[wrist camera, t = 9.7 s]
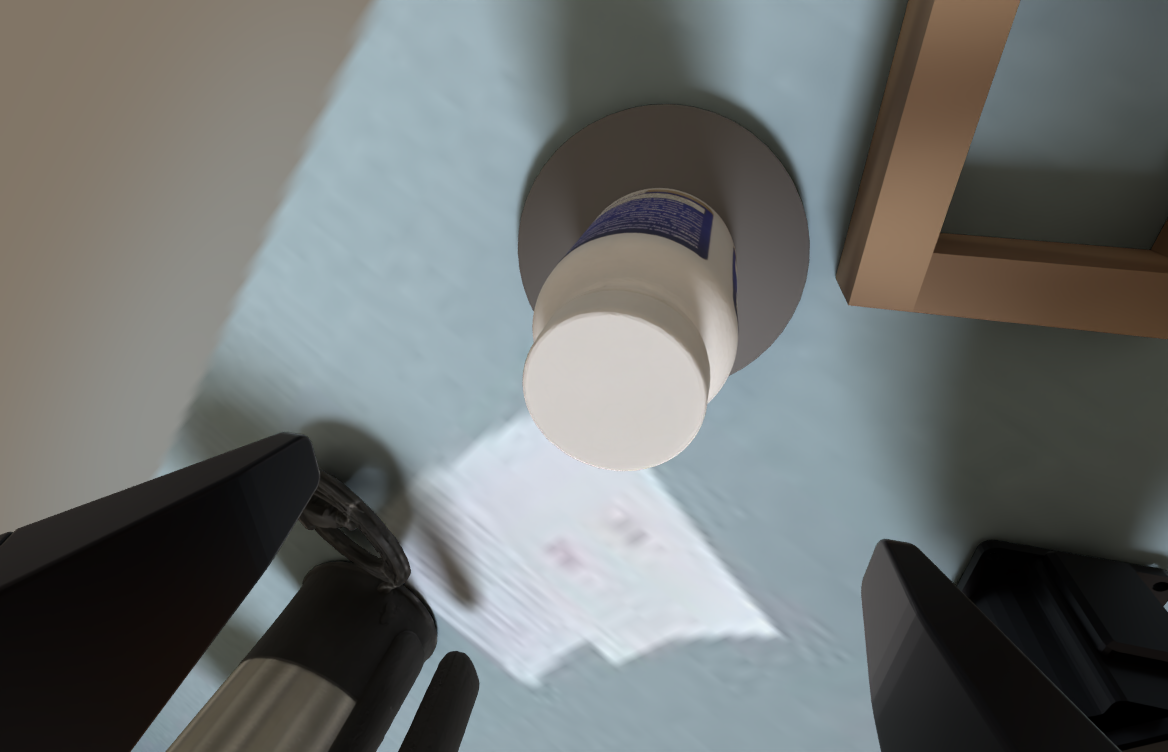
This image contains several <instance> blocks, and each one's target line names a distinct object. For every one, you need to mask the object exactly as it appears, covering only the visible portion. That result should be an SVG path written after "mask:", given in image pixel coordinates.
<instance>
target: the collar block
mask: <svg viewBox="0 0 1168 752" xmlns="http://www.w3.org/2000/svg"><path fill="white" fill-rule="evenodd" d="M1019 3H1020V0H908V4H907V8H906V12H905V16H904V19H903V23H902V27H901V31H900V35H899V38H898V42H897V46H896V50H895V54H894V57H893V61H892V65H891V69H890V73H889V76H888V80H887V84H886V88H885V92H884V95H883V99H882V103H881V107H880V111H879V114H878V118H877V122H876V126H875V130H874V133H873V137H872V141H871V145H870V149H869V152H868V156H867V160H866V164H865V168H864V171H863V175H862V179H861V183H860V187H859V190H858V194H857V198H856V202H855V206H854V209H853V213H852V217H851V221H850V225H849V228H848V232H847V236H846V240H845V243H844V247H843V251H842V255H841V259H840V262H839V266H838V270H837V274H836V280H837V282H838V284H839V286H840V289H841V291H842V293H843V295H844V297H845V299H846V301H847V303H848V305H851V306H861V307H870V308H880V309H889V310H898V311H908V312H917V313H926V314H936V315H945V316H954V317H964V318H973V319H983V320H992V321H1001V322H1011V323H1020V324H1029V325H1039V326H1048V327H1058V328H1067V329H1076V330H1086V331H1095V332H1104V333H1114V334H1123V335H1133V336H1142V337H1151V338H1161V339H1168V219H1167V221H1166V223H1165V224H1164V226H1163V228H1162V230H1161V232H1160V234H1159V235H1158V237H1157V239H1156V241H1155V243H1154V245H1153V246H1152V248H1151V250H1146V249H1133V248H1121V247H1109V246H1096V245H1084V244H1071V243H1059V242H1047V241H1034V240H1022V239H1010V238H997V237H985V236H973V235H960V234H948V233H940V231H941V228H942V225H943V222H944V219H945V217H946V214H947V211H948V208H949V205H950V202H951V199H952V196H953V193H954V191H955V188H956V185H957V182H958V179H959V176H960V173H961V170H962V168H963V165H964V162H965V159H966V156H967V153H968V150H969V147H970V144H971V142H972V139H973V136H974V133H975V130H976V127H977V124H978V121H979V118H980V116H981V113H982V110H983V107H984V104H985V101H986V98H987V95H988V92H989V90H990V87H991V84H992V81H993V78H994V75H995V72H996V69H997V66H998V64H999V61H1000V58H1001V55H1002V52H1003V49H1004V46H1005V43H1006V41H1007V38H1008V35H1009V32H1010V29H1011V26H1012V23H1013V20H1014V17H1015V15H1016V12H1017V9H1018V6H1019Z"/></svg>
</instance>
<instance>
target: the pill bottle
mask: <svg viewBox="0 0 1168 752" xmlns="http://www.w3.org/2000/svg"><path fill="white" fill-rule="evenodd" d="M738 333H739V327H738V306H737V259H736V252H735V247H734V243H733V240H732V237H731V235H730V233H729V231H728V228H727V226H726V225H725V223H724V222H723V220H722V219H721V218H720V216H719V215H718V214H717V213H716V212H715V211H714V210H713V209H712V208H711V207H710V206H709V205H707V204H706V203H705V202H703V201H702V200H700V199H699V198H697V197H695V196H693V195H691V194H688V193H685V192H682V191H679V190H674V189H668V188H650V189H644V190H640V191H636V192H633V193H630V194H628V195H626V196H624V197H622V198H620V199H618V200H616V201H615V202H613V203H612V204H611V205H610V206H608V207H607V208H606V209H605V210H604V211H603V212H602V213H601V214H600V215H599V216H598V217H597V218H596V219H595V221H594V222H593V223H592V224H591V225H590V227H589V228H588V229H587V230H586V231H585V233H584V234H583V235H582V236H581V237H580V238H579V240H578V241H577V242H576V243H575V244H574V245H573V247H572V248H571V249H570V250H569V251H568V252H567V254H566V255H565V256H564V257H563V258H562V259H561V260H560V261H559V263H558V264H557V265H556V267H555V268H554V269H553V271H552V272H551V274H550V275H549V276H548V278H547V280H546V281H545V283H544V285H543V287H542V289H541V291H540V293H539V296H538V299H537V302H536V305H535V309H534V315H533V339H534V344H533V345H532V347H531V349H530V351H529V353H528V356H527V359H526V362H525V366H524V371H523V392H524V397H525V402H526V405H527V408H528V410H529V412H530V415H531V417H532V419H533V420H534V422H535V424H536V425H537V427H538V428H539V429H540V431H541V432H542V433H543V434H544V435H545V437H546V438H547V439H548V440H549V441H550V442H551V443H553V444H554V445H555V446H556V447H557V448H558V449H560V450H561V451H563V452H564V453H566V454H567V455H569V456H570V457H572V458H574V459H576V460H578V461H580V462H583V463H585V464H588V465H591V466H594V467H598V468H601V469H607V470H615V471H635V470H641V469H646V468H650V467H654V466H657V465H659V464H662V463H664V462H666V461H668V460H670V459H672V458H673V457H674V456H676V455H678V454H679V453H680V452H681V451H683V450H684V449H685V448H686V447H687V446H688V445H689V444H690V443H691V441H692V440H693V439H694V437H695V436H696V435H697V433H698V431H699V429H700V427H701V425H702V423H703V420H704V417H705V414H706V409H707V404H708V403H709V402H710V401H711V400H712V399H713V398H714V397H715V396H716V394H717V393H718V392H719V391H720V389H721V388H722V386H723V385H724V383H725V381H726V380H727V378H728V376H729V374H730V372H731V369H732V367H733V364H734V361H735V357H736V352H737V344H738Z"/></svg>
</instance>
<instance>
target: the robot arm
mask: <svg viewBox="0 0 1168 752" xmlns="http://www.w3.org/2000/svg"><path fill="white" fill-rule="evenodd" d="M319 480H320V471H319V467H318V464H317V460H316V456H315V453H314V449H313V445H312V442H311V440H310V439H309V438H308V437H307V436H305V435H301V434H296V433H290V432H282V433H279V434H276V435H273V436H270V437H268V438H265V439H262V440H260V441H257V442H254V443H251V444H249V445H246V446H243V447H240V448H238V449H235V450H232V451H229V452H227V453H224V454H221V455H218V456H216V457H213V458H210V459H207V460H205V461H202V462H199V463H196V464H194V465H191V466H188V467H185V468H183V469H180V470H177V471H174V472H172V473H169V474H166V475H164V476H161V477H158V478H155V479H153V480H150V481H147V482H144V483H142V484H139V485H136V486H133V487H131V488H128V489H125V490H123V491H120V492H117V493H114V494H112V495H109V496H106V497H103V498H101V499H98V500H95V501H92V502H90V503H87V504H84V505H81V506H79V507H76V508H73V509H70V510H68V511H65V512H62V513H60V514H57V515H54V516H51V517H48V518H46V519H43V520H40V521H38V522H35V523H32V524H29V525H26V526H24V527H21V528H18V529H17V530H15V531H14V532H7V533H4V534H1V535H0V752H131V750H132V749H133V748H134V746H135V745H136V744H137V742H138V741H139V740H140V738H141V737H142V736H143V734H144V733H145V732H146V730H147V729H148V728H149V726H150V725H151V723H152V722H153V721H154V719H155V718H156V717H157V715H158V714H159V713H160V711H161V710H162V709H163V707H164V706H165V705H166V703H167V702H168V701H169V699H170V698H171V697H172V695H173V694H174V693H175V691H176V690H177V689H178V687H179V686H180V685H181V683H182V682H183V681H184V679H185V678H186V677H187V675H188V674H189V673H190V671H191V670H192V669H193V667H194V666H195V665H196V663H197V662H198V661H199V659H200V658H201V656H202V655H203V654H204V652H205V651H206V650H207V648H208V647H209V646H210V644H211V643H212V642H213V640H214V639H215V638H216V636H217V635H218V634H219V632H220V631H221V630H222V628H223V627H224V626H225V624H226V623H227V622H228V620H229V619H230V618H231V616H232V615H233V614H234V612H235V611H236V610H237V608H238V607H239V606H240V604H241V603H242V602H243V600H244V599H245V598H246V596H247V595H248V594H249V592H250V591H251V589H252V588H253V587H254V585H255V584H256V583H257V581H258V580H259V579H260V577H261V576H262V575H263V573H264V572H265V570H266V569H267V568H268V566H269V565H270V563H271V562H272V560H273V559H274V557H275V555H276V554H277V552H278V551H279V549H280V548H281V546H282V544H283V543H284V541H285V539H286V538H287V536H288V534H289V533H290V531H291V530H292V528H293V526H294V525H295V523H296V521H297V520H298V518H299V516H300V515H301V513H302V511H303V510H304V508H305V507H306V505H307V503H308V502H309V500H310V498H311V497H312V495H313V493H314V492H315V490H316V488H317V486H318V484H319ZM994 552H997V553H995V554H991V553H994ZM861 598H862V609H863V620H864V630H865V641H866V652H867V663H868V674H869V684H870V693H871V702H872V708H873V714H874V719H875V725H876V729H877V734H878V739H879V744H880V749H881V752H1168V612H1167V611H1166V609H1165V608H1164V607H1163V606H1164V605H1165V604H1166V603H1167V601H1168V571H1166V570H1163V569H1158V568H1153V567H1147V566H1141V565H1136V564H1130V563H1124V562H1118V561H1113V560H1107V559H1101V558H1095V557H1090V556H1084V555H1078V554H1073V553H1067V552H1061V551H1055V550H1050V549H1044V548H1038V547H1032V546H1027V545H1021V544H1015V543H1010V542H1004V541H998V540H989V541H985V542H983V543H981V544H980V545H979V546H978V547H977V549H976V551H975V553H974V555H973V557H972V559H971V561H970V562H969V564H968V566H967V568H966V570H965V572H964V574H963V576H962V578H961V579H960V581H959V583H958V585H957V586H956V585H955V584H954V583H953V582H952V581H951V580H950V579H949V578H948V577H947V576H946V575H945V574H944V573H943V572H942V571H941V570H940V569H939V568H938V567H937V566H936V565H935V564H934V563H933V562H932V561H931V560H930V559H929V558H928V557H927V556H926V555H925V554H924V553H923V552H922V551H921V550H920V549H919V548H917V547H916V546H915V545H913V544H911V543H907V542H901V541H896V540H890V539H882V540H880V541H879V542H878V543H877V545H876V547H875V550H874V552H873V555H872V557H871V560H870V562H869V565H868V567H867V570H866V572H865V575H864V577H863V581H862V587H861Z"/></svg>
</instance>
